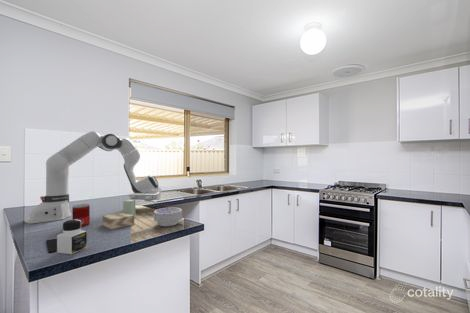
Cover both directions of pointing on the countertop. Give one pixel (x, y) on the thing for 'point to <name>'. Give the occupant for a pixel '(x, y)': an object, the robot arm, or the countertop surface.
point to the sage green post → (129, 207)
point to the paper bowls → (167, 216)
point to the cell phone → (52, 245)
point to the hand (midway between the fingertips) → (139, 198)
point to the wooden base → (118, 220)
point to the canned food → (81, 213)
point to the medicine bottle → (71, 238)
